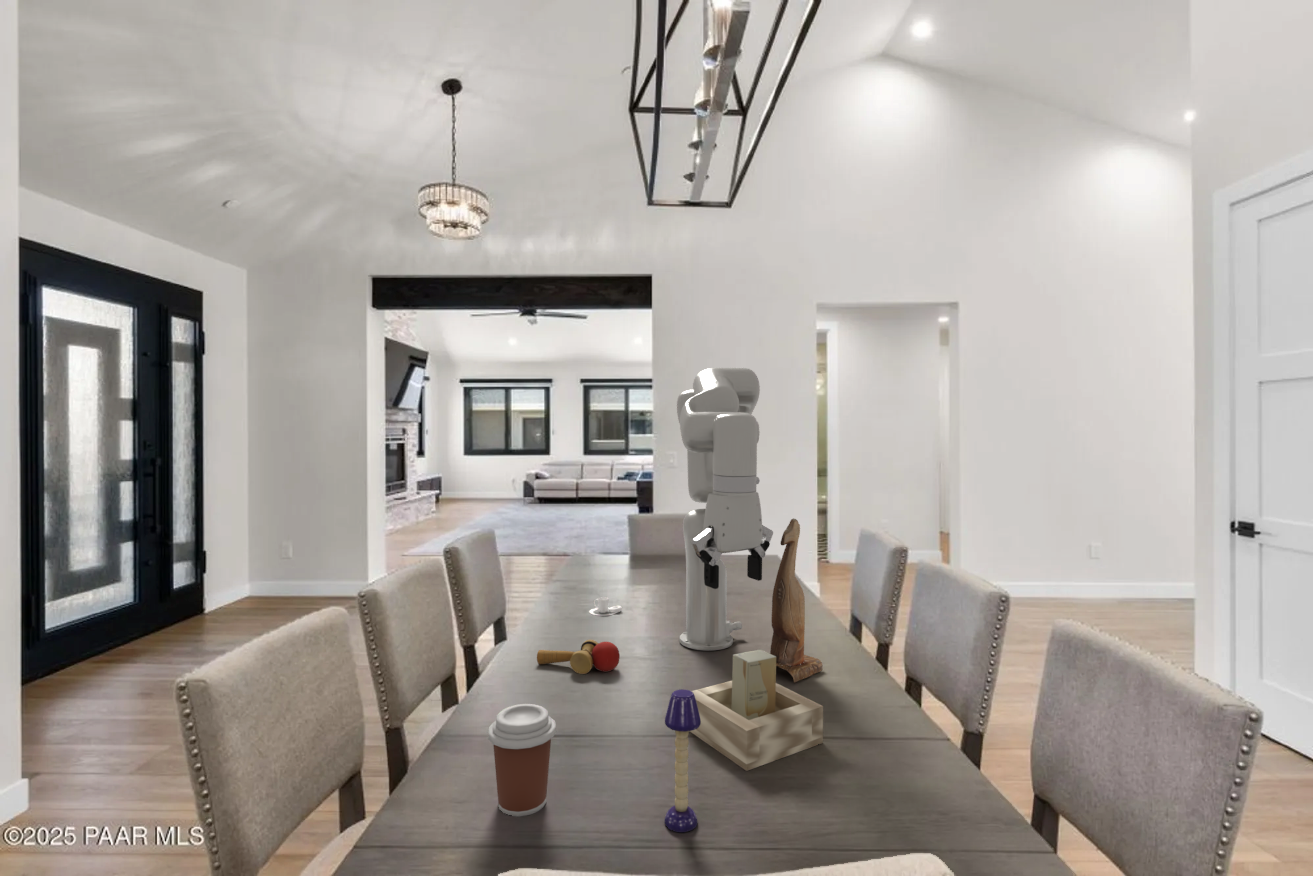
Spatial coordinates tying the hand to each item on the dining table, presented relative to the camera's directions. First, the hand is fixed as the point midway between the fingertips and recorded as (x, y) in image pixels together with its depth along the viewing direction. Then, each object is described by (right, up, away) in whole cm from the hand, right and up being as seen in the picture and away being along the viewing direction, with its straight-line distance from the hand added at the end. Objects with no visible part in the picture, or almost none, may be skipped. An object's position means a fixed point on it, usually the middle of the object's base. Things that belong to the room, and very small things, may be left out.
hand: (733, 582), depth 112 cm
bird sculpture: (+14, -24, +23) cm, 36 cm away
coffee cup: (-32, -24, -25) cm, 47 cm away
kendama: (-30, -24, +24) cm, 45 cm away
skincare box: (+3, -23, -5) cm, 24 cm away
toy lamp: (-10, -25, -29) cm, 39 cm away
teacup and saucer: (-27, -23, +63) cm, 72 cm away
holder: (+2, -24, -6) cm, 25 cm away
